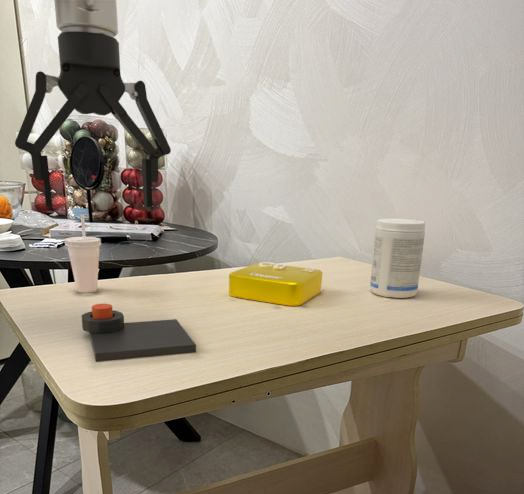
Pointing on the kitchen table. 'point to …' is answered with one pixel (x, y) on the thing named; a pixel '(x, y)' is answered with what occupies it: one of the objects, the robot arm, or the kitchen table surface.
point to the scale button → (102, 311)
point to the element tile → (275, 283)
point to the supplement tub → (397, 257)
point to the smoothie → (84, 260)
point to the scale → (135, 338)
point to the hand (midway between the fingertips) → (100, 206)
